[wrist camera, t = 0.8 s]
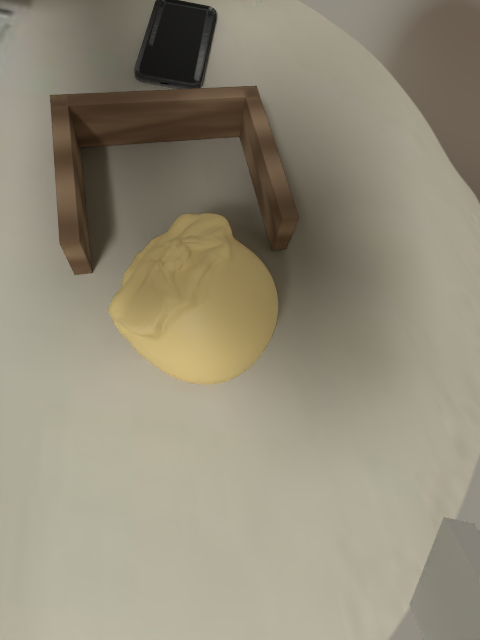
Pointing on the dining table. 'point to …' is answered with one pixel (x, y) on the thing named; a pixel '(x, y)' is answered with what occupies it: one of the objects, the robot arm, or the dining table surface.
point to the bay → (161, 126)
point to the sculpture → (197, 302)
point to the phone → (176, 44)
